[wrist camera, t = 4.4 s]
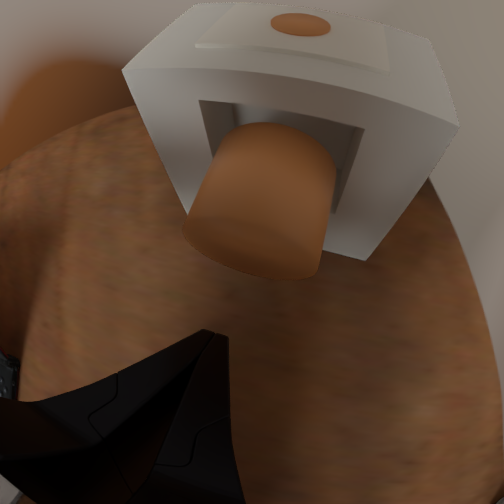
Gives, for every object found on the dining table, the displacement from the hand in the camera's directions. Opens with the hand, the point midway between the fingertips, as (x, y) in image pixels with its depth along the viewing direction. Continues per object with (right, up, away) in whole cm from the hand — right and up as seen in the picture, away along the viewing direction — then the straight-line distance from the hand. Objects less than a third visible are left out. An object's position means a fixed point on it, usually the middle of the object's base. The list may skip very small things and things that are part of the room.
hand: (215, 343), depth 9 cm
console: (+4, +7, +11) cm, 14 cm away
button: (+2, +4, +5) cm, 6 cm away
